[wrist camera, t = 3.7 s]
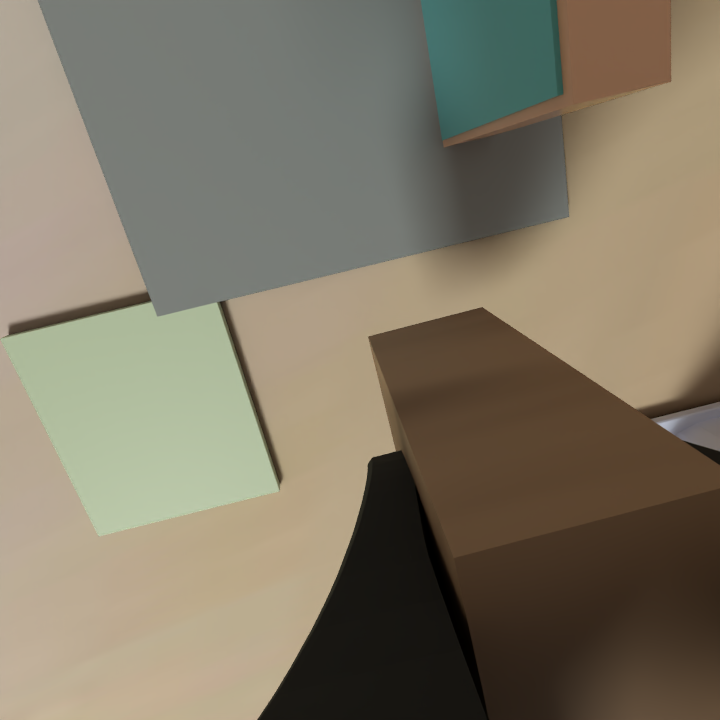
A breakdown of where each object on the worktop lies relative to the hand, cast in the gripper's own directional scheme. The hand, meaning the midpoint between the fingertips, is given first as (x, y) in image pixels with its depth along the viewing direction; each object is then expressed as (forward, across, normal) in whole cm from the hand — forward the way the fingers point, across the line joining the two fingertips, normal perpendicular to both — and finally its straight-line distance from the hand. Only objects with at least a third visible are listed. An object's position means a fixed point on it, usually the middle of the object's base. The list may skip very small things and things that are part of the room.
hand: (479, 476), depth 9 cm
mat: (+9, 0, -10) cm, 13 cm away
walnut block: (+2, 0, 0) cm, 2 cm away
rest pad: (+9, +9, 0) cm, 13 cm away
